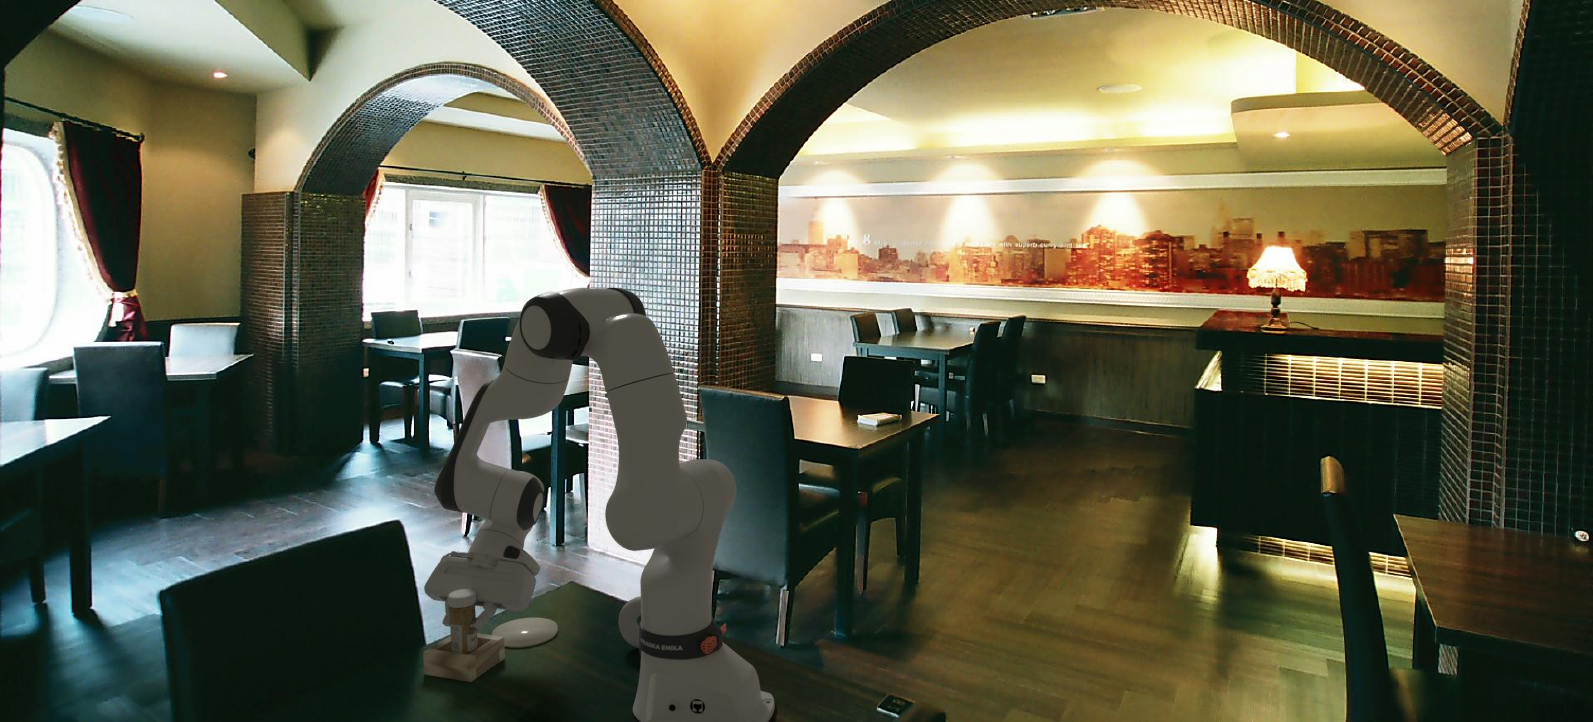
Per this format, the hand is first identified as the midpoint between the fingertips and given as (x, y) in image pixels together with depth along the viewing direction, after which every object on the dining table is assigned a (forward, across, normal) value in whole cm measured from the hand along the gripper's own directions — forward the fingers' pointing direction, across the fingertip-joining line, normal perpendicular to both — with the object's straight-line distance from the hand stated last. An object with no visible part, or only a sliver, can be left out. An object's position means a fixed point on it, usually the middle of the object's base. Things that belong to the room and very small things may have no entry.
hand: (461, 627), depth 159 cm
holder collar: (+5, 0, +6) cm, 7 cm away
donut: (-6, +27, +17) cm, 33 cm away
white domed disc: (-6, +2, +16) cm, 17 cm away
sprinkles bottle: (+5, 0, +6) cm, 8 cm away
